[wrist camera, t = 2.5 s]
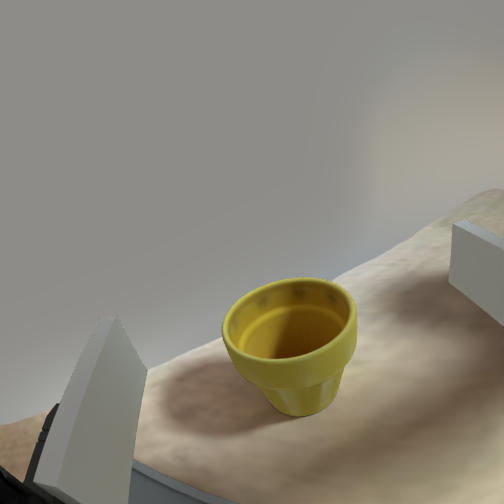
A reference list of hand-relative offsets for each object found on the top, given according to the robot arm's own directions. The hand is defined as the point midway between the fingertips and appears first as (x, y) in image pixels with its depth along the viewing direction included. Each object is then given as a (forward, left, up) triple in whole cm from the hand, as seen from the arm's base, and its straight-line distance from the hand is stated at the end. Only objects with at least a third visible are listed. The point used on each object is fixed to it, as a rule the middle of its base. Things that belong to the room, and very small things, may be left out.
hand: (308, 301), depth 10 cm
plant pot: (-9, -5, -17) cm, 20 cm away
